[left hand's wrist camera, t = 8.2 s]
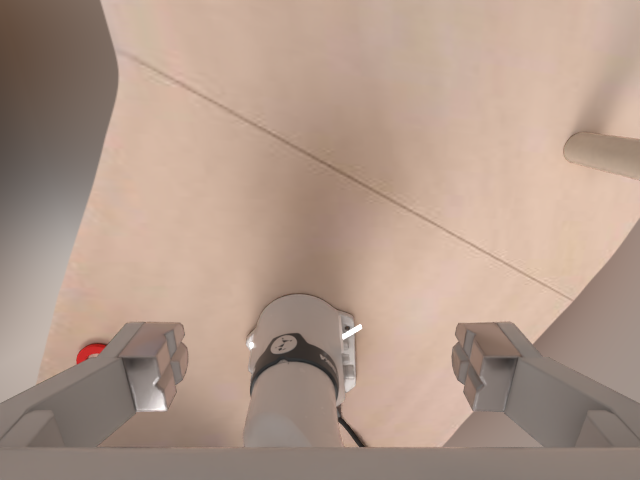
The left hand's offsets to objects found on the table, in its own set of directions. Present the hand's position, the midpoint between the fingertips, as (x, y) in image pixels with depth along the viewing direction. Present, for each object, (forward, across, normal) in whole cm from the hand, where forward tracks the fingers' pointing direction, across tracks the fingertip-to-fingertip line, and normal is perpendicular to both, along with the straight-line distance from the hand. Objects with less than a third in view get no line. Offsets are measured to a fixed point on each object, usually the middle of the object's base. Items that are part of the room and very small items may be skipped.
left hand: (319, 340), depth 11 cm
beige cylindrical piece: (+42, +36, 0) cm, 55 cm away
